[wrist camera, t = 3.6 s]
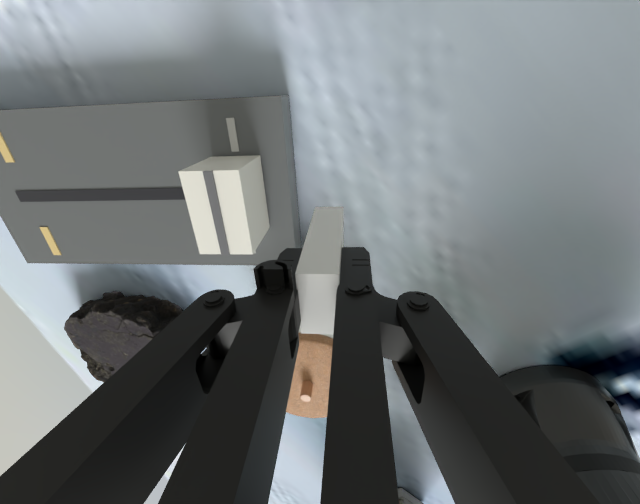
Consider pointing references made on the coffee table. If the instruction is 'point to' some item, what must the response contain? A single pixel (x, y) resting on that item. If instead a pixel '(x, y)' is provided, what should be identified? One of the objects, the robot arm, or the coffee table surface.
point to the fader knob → (226, 203)
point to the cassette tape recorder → (407, 497)
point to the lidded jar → (311, 376)
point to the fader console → (137, 178)
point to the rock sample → (117, 329)
